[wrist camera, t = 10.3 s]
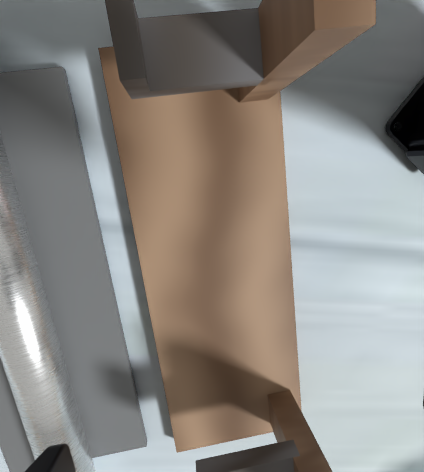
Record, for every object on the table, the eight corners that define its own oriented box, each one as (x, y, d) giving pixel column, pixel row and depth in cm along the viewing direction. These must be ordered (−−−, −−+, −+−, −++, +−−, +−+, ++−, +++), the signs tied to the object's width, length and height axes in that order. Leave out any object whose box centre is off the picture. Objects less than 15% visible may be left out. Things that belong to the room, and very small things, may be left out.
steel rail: (-75, 34, 14) (-140, 4, 12) (-16, 27, 14) (-67, -5, 12) (66, 485, 21) (47, 533, 18) (106, 480, 21) (93, 527, 18)
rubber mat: (65, 69, 16) (61, 66, 15) (147, 440, 21) (146, 446, 21) (-123, 88, 15) (-133, 85, 14) (14, 467, 21) (11, 475, 20)
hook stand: (270, 39, 17) (405, -138, 7) (296, 414, 23) (388, 600, 13) (103, 55, 16) (-10, -119, 6) (176, 439, 22) (178, 658, 12)
